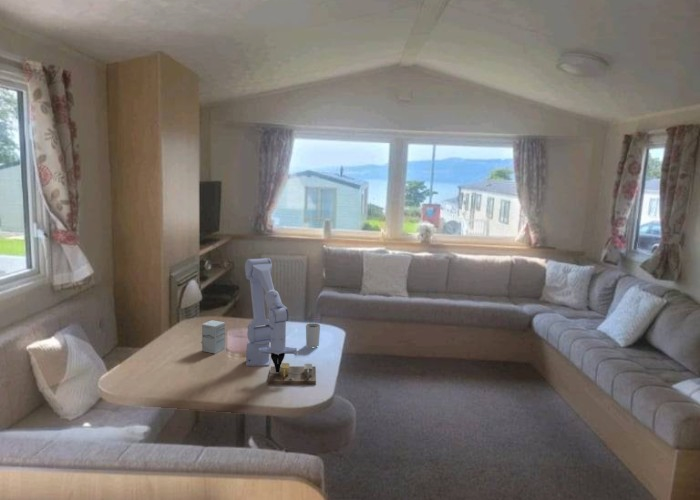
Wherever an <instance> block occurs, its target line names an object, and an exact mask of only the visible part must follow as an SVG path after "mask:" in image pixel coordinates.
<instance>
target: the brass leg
mask: <svg viewBox="0 0 700 500" xmlns="http://www.w3.org/2000/svg"><path fill="white" fill-rule="evenodd" d="M289 366H290V363H289V362H282V363H281V375H283V379H285V375H289Z"/></svg>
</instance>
